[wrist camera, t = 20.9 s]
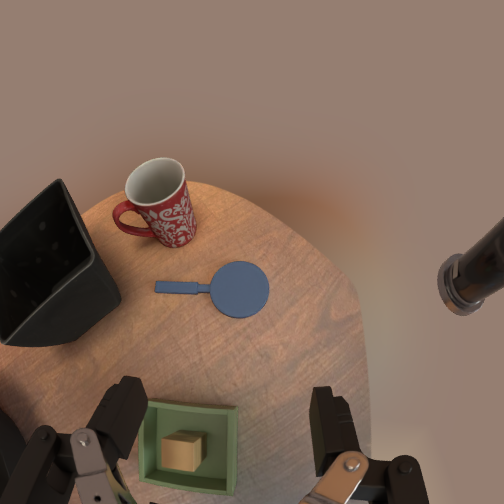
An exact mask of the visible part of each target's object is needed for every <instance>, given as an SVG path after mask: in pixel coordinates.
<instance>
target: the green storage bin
mask: <svg viewBox="0 0 504 504" xmlns="http://www.w3.org/2000/svg"><path fill="white" fill-rule="evenodd" d="M178 430H187V431H196V432H206V433H207V457H206V458H205V459H204V461H203V462H202V463H201V464H200V465H199V466H198V468H197V469H196V470H195V471H194V472H190V471H183V470H177V469H171V468H166V467H162V460H161V438H163V437H165V436H168V435H170V434H172V433H174V432H176V431H178ZM237 430H238V406H221V405H208V404H196V403H187V402H178V401H171V400H163V399H157V398H148V409H147V411H146V414H145V416H144V419H143V421H142V424H141V426H140V428H139V431H138V457H139V481H142V482H146V483H150V484H154V485H159V486H163V487H168V488H174V489H179V490H185V491H192V492H199V493H207V494H216V495H227V496H233V493H234V490H235V486H236V482H237Z"/></svg>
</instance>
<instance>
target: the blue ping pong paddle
mask: <svg viewBox="0 0 504 504" xmlns="http://www.w3.org/2000/svg"><path fill="white" fill-rule="evenodd" d="M155 292H156V293H171V294H198V293H210V296H211V299H212V301H213V303H214V305H215V306H216V308H217V309H218V310H219V311H220V312H222V313H223V314H225V315H227V316H229V317H233V318H246V317H249V316H252V315H254V314H256V313H257V312H258V311H260V310H261V309H262V308H263V306H264V305H265V303H266V301H267V299H268V295H269V283H268V280H267V277H266V275H265V274H264V272H263V271H262V270H261V269H260V268H259V267H257V266H256V265H254V264H252V263H249V262H244V261H236V262H232V263H229V264H226V265H224V266H223V267H221V268H220V269H219V270H218V271H217V272H216V273H215V275H214V276H213V278H212V281H211V284H210V285H206V284H198V282H168V281H156V286H155Z"/></svg>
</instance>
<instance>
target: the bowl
mask: <svg viewBox="0 0 504 504" xmlns="http://www.w3.org/2000/svg"><path fill="white" fill-rule="evenodd" d="M26 446H27V445H26V443H25V441H24V439H23V437H22V435H21V433H20V431H19V430H18V428H17V427H16V425H15V424H14V422H13V421H12V420H11V419H10V418H9V417H8V416H7V415H6V414H5V413H4V412H3V411H2V410H1V409H0V498H1V496H2V494H3V492H4V490H5V487H6V485H7V483H8V481H9V479H10V477H11V475H12V473H13V471H14V469H15V467H16V465H17V463H18V461H19V459H20V457H21V455H22V453H23V451H24V449H25V448H26Z"/></svg>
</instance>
